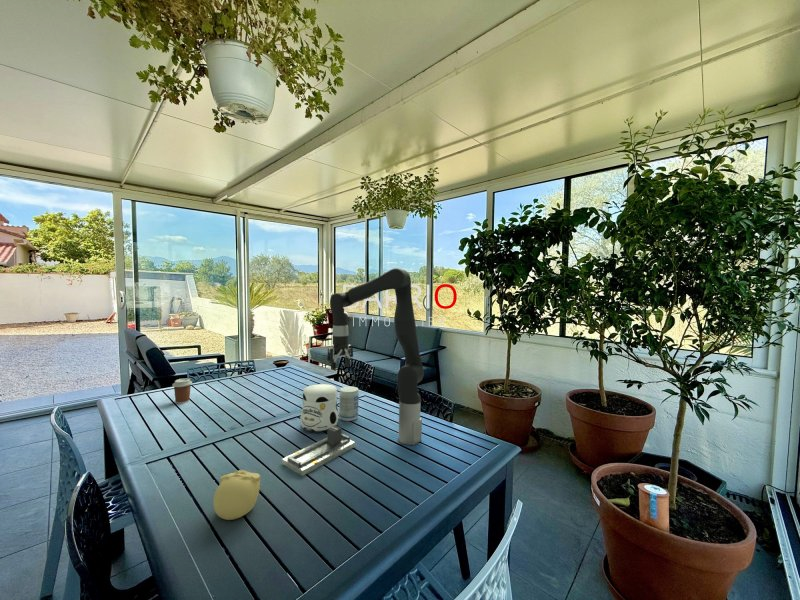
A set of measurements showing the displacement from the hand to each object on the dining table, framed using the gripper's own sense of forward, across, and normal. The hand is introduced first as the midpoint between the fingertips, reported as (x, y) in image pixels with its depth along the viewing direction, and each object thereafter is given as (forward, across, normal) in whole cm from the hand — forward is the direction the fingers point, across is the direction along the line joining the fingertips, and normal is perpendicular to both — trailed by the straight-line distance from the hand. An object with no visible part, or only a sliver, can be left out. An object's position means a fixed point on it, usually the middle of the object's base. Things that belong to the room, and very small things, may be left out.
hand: (340, 368), depth 151 cm
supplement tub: (+27, +7, +2) cm, 28 cm away
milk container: (+27, -9, +5) cm, 29 cm away
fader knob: (+25, -17, -15) cm, 34 cm away
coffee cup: (+25, -38, +88) cm, 99 cm away
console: (+27, -24, -15) cm, 40 cm away
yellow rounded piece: (+28, -59, -21) cm, 68 cm away
